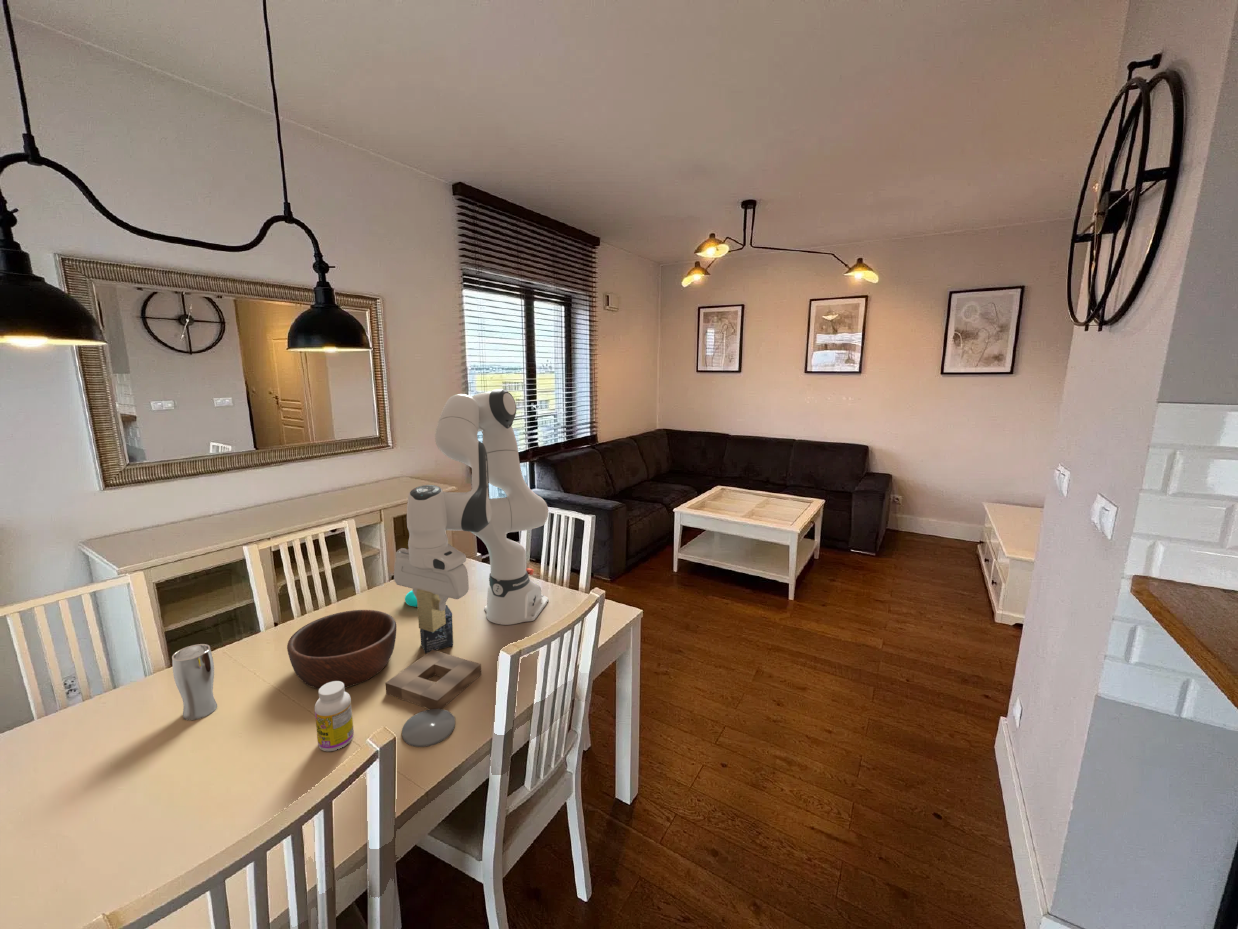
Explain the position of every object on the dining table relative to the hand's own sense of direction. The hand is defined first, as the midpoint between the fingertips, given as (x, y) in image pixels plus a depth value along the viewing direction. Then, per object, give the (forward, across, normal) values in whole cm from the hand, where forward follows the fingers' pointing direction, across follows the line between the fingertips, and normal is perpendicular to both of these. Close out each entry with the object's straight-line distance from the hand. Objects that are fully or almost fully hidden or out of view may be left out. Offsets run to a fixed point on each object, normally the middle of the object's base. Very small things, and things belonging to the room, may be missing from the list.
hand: (431, 607), depth 123 cm
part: (+5, 0, 0) cm, 5 cm away
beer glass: (+21, -41, -30) cm, 55 cm away
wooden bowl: (+21, -26, -4) cm, 34 cm away
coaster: (+21, +10, -13) cm, 27 cm away
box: (+21, -12, +14) cm, 28 cm away
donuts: (+21, -36, +33) cm, 53 cm away
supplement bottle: (+21, -5, -24) cm, 32 cm away
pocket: (+21, 0, 0) cm, 21 cm away
